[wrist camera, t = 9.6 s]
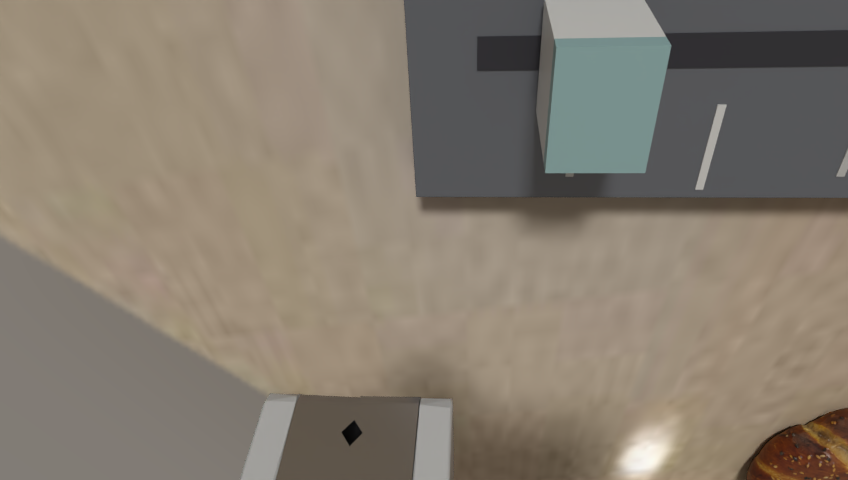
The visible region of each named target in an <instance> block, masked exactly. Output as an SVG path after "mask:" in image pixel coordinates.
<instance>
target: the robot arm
mask: <svg viewBox="0 0 848 480" xmlns="http://www.w3.org/2000/svg"><path fill="white" fill-rule="evenodd" d="M240 480H454V427H453V399H452V398H421V397H376V396H361V397H342V396H321V395H302V394H273V393H270V394H269V396H268V397H267V399H266V401H265V402H264V404H263V407H262V411H261V414H260V417H259V420H258V423H257V426H256V430H255V433H254V436H253V439H252V442H251V445H250V448H249V451H248V455H247V458H246V461H245V464H244V467H243V471H242V474H241V477H240Z"/></svg>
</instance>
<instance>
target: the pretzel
mask: <svg viewBox="0 0 848 480" xmlns="http://www.w3.org/2000/svg"><path fill="white" fill-rule="evenodd" d="M746 480H848V408H845V409H841V410H837V411H834V412H829V413H827V414H826V415H824V416H822V417H820V418H818V419H816V420H814V421H811V422H809V423H808V424H807V425H797V426H794V427H790V428H789V429H787V430H785V431H784V432H782V433H780V434H778V435H776V436H775V437H773V438H772V439H771V440H770V441H769V442H767V443H766V445H765V446H764V447H763V448H762V449H761V451H760V453H759V454H758V455H757V456H756V457H755V458H754V459H753V461H752V463H751V464H750V467H749V469H748V473H747V479H746Z"/></svg>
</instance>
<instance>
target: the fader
mask: <svg viewBox="0 0 848 480" xmlns="http://www.w3.org/2000/svg"><path fill="white" fill-rule="evenodd" d="M670 50H671V44H670V42H669V40H668V39H667V37H666V35H665V34H664V32H663V30H662V29H661V27H660V25H659V23H658V22H657V20H656V18H655V17H654V15H653V13H652V12H651V10H650V8H649V7H648V5H647V3H646V1H645V0H544V9H543V23H542V37H541V50H540V64H539V77H538V91H537V105H536V115H537V121H538V128H539V135H540V142H541V149H542V155H543V162H544V169H545V173H645V172H646V167H647V162H648V157H649V152H650V148H651V143H652V138H653V133H654V128H655V123H656V118H657V114H658V109H659V104H660V99H661V94H662V89H663V84H664V80H665V75H666V70H667V65H668V60H669V55H670Z"/></svg>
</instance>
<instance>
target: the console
mask: <svg viewBox="0 0 848 480" xmlns="http://www.w3.org/2000/svg"><path fill="white" fill-rule="evenodd" d="M645 1H646V3H647V5H648V7H649V8H650V10H651V12H652V13H653V15H654V17H655V18H656V20H657V22H658V23H659V25H660V27H661V29H662V30H663V32H664V34H665V35H666V37H667V39H668V40H669V42H670V44H671V50H670V55H669V60H668V65H667V70H666V75H665V80H664V84H663V89H662V94H661V99H660V104H659V109H658V114H657V118H656V123H655V128H654V133H653V138H652V143H651V148H650V152H649V157H648V162H647V167H646V172H645V173H545V169H544V162H543V155H542V149H541V142H540V135H539V128H538V121H537V115H536V105H537V91H538V77H539V64H540V50H541V37H542V23H543V9H544V0H404V7H405V23H406V39H407V55H408V71H409V87H410V103H411V120H412V136H413V152H414V168H415V184H416V197H727V198H848V0H645Z"/></svg>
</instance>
